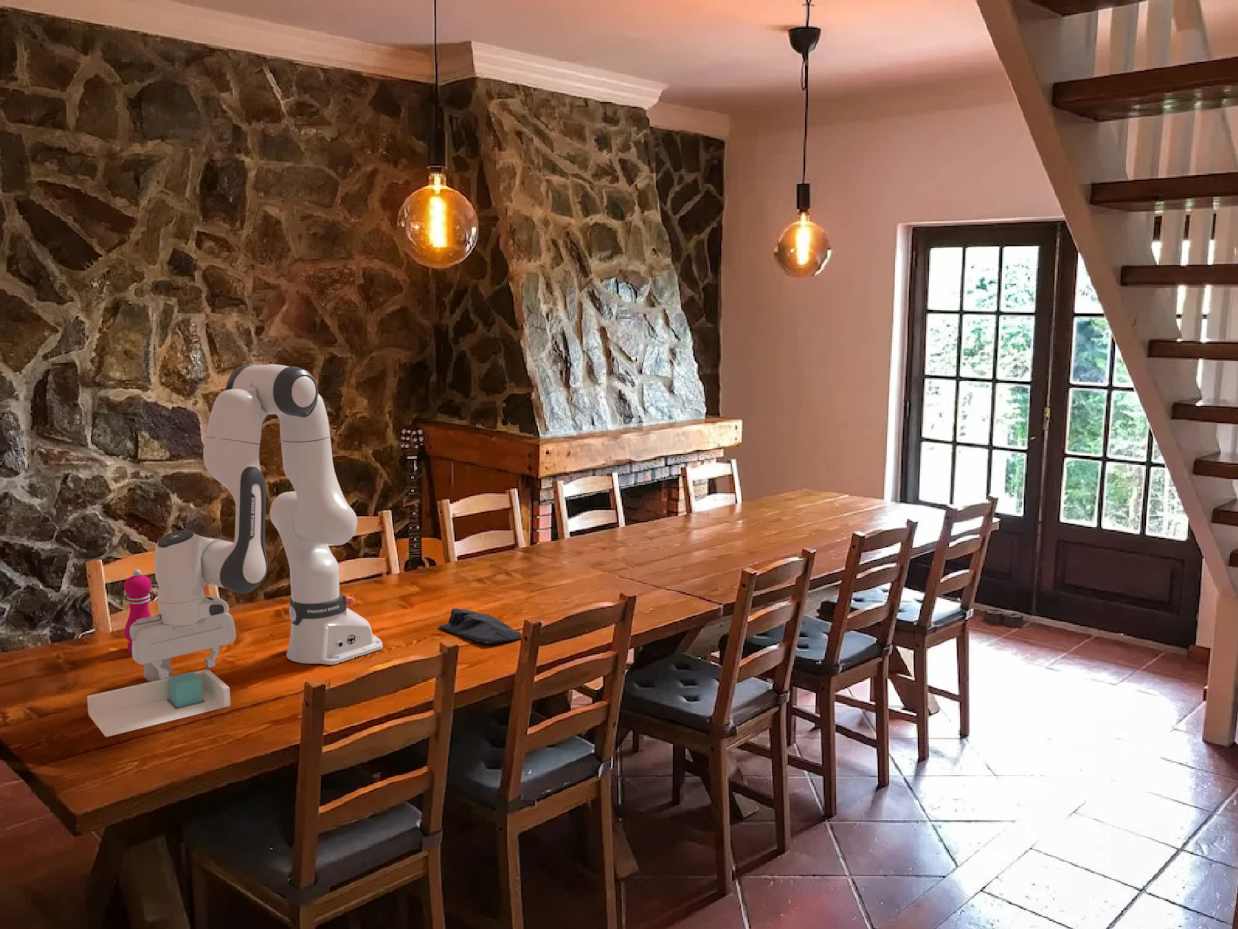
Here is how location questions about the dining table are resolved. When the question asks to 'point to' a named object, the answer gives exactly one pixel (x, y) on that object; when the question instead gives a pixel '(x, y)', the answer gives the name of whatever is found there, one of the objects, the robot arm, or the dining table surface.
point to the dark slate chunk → (479, 627)
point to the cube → (185, 689)
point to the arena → (152, 704)
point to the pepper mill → (137, 601)
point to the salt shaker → (153, 673)
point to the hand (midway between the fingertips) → (187, 672)
